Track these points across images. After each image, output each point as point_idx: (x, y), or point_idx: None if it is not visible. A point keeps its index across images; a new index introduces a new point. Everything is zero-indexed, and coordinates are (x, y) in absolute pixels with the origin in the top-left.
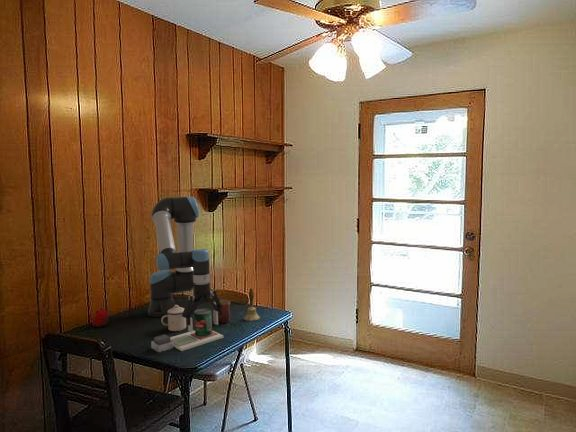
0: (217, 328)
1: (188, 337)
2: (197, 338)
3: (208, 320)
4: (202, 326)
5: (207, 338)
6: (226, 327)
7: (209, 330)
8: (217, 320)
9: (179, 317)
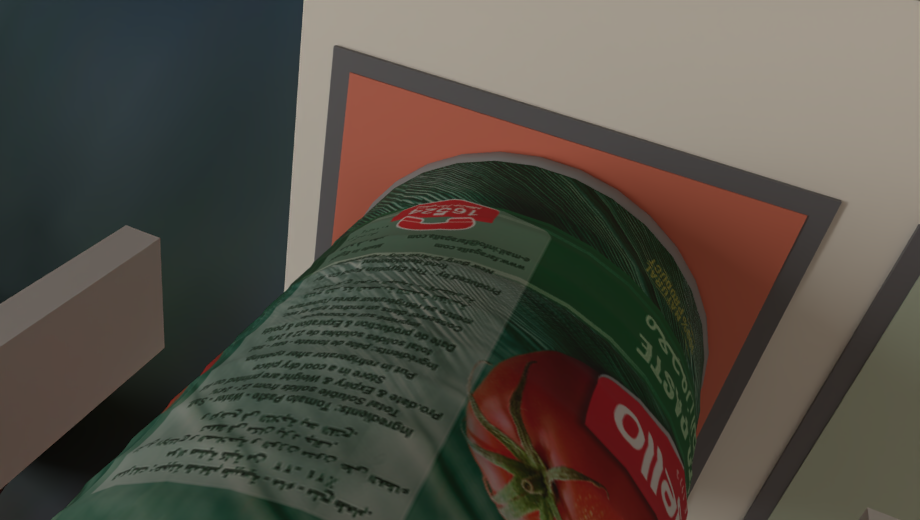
0: None
1: (829, 500)
2: (790, 308)
3: (366, 396)
4: (629, 408)
5: (683, 87)
6: (20, 194)
7: (474, 209)
8: (55, 285)
9: None
